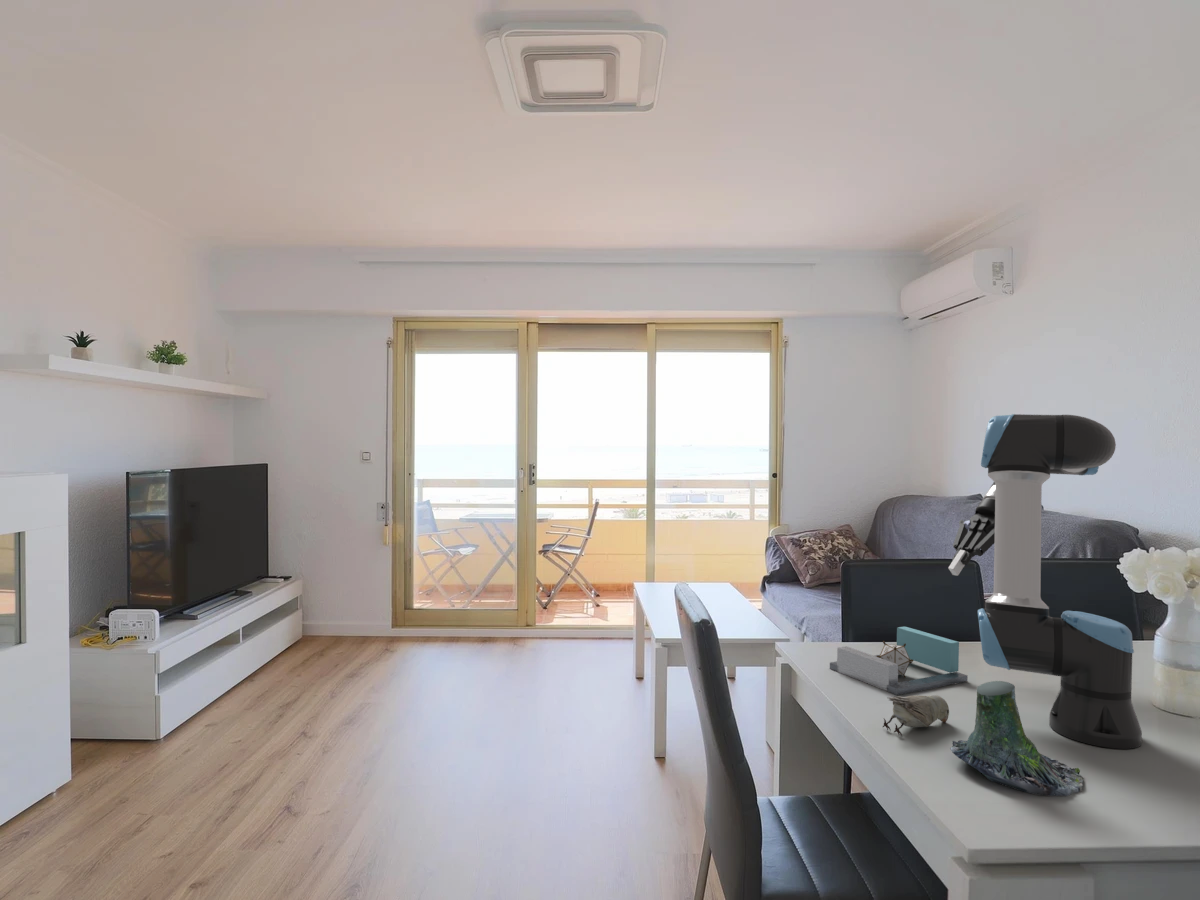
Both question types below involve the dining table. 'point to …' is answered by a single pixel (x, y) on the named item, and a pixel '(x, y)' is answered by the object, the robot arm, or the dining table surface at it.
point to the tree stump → (1011, 748)
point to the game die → (896, 656)
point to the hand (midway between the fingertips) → (953, 571)
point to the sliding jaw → (929, 648)
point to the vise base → (886, 672)
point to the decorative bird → (918, 711)
